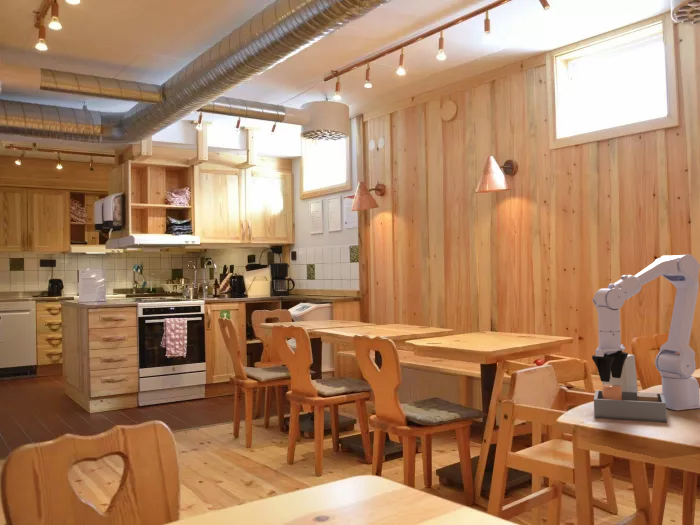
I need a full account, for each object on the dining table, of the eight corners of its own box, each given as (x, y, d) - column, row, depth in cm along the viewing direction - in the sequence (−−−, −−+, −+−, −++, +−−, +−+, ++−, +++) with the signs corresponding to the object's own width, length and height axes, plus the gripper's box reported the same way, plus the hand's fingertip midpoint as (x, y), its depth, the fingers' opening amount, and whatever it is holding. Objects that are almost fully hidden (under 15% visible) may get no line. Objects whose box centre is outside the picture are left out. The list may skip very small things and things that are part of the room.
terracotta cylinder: (601, 409, 177) (600, 384, 177) (619, 409, 176) (619, 384, 176) (605, 413, 172) (604, 387, 172) (624, 413, 171) (623, 387, 171)
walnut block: (637, 410, 174) (636, 392, 174) (657, 411, 172) (656, 393, 172) (638, 414, 169) (637, 396, 169) (658, 415, 167) (657, 397, 167)
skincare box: (639, 405, 184) (637, 354, 184) (627, 407, 181) (625, 356, 181) (613, 400, 191) (611, 352, 191) (601, 403, 188) (599, 354, 188)
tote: (663, 411, 175) (662, 393, 175) (666, 422, 163) (665, 403, 163) (596, 407, 182) (595, 390, 182) (594, 417, 170) (593, 399, 170)
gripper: (612, 334, 167) (614, 384, 166) (634, 329, 177) (635, 377, 177) (587, 332, 172) (588, 382, 172) (609, 328, 182) (610, 375, 182)
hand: (610, 379), depth 174 cm, fingers open, 7 cm apart
